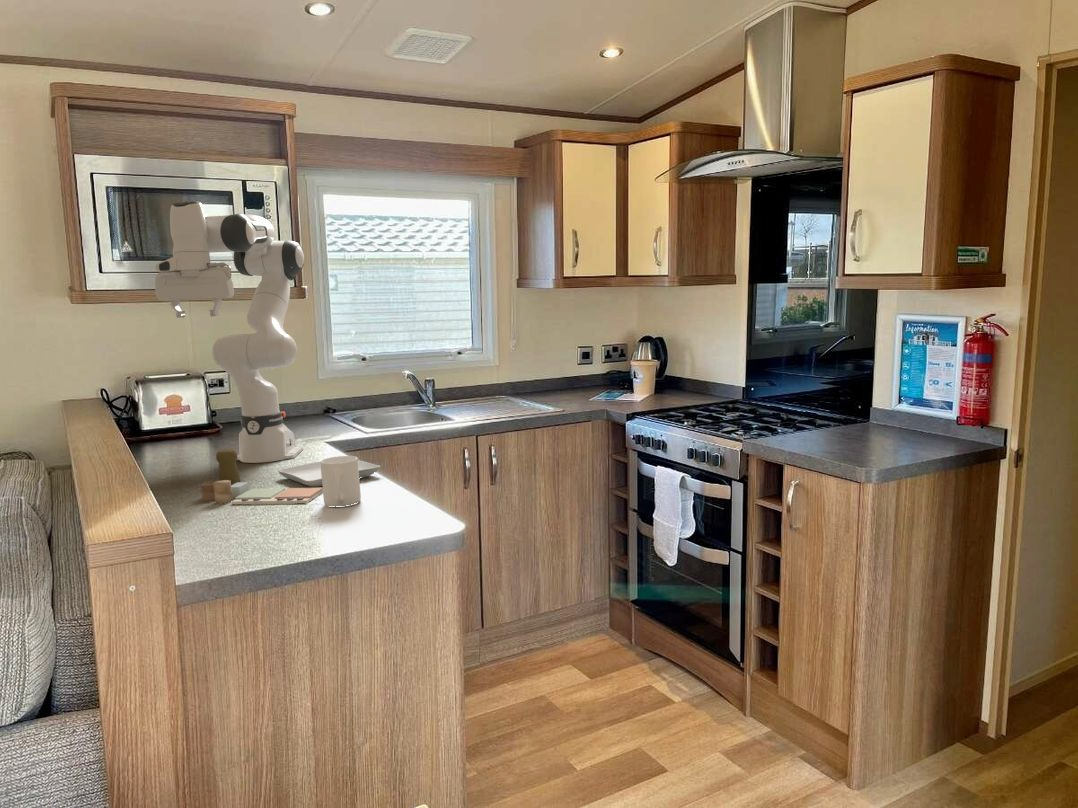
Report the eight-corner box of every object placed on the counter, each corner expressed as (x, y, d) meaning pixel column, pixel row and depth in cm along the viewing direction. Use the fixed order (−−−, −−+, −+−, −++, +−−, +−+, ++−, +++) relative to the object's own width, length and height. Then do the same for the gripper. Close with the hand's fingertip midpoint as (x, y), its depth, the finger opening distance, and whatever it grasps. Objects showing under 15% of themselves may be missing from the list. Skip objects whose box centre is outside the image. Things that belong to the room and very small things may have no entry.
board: (252, 493, 205) (251, 488, 205) (323, 491, 203) (323, 487, 203) (231, 504, 194) (231, 500, 194) (306, 503, 192) (306, 498, 192)
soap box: (238, 493, 206) (237, 482, 205) (249, 493, 206) (248, 482, 205) (229, 498, 201) (227, 487, 201) (240, 498, 201) (239, 487, 200)
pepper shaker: (234, 486, 213) (230, 446, 211) (247, 489, 209) (243, 448, 208) (213, 491, 208) (209, 450, 207) (225, 494, 205) (221, 452, 203)
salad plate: (276, 480, 220) (275, 468, 219) (347, 467, 233) (346, 455, 233) (309, 493, 204) (308, 480, 203) (383, 478, 217) (382, 465, 216)
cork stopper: (220, 499, 200) (218, 480, 199) (235, 499, 199) (233, 480, 199) (212, 504, 196) (210, 484, 195) (227, 504, 195) (225, 484, 195)
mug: (319, 513, 183) (315, 467, 181) (326, 500, 194) (322, 457, 193) (358, 510, 184) (354, 465, 182) (362, 497, 195) (359, 454, 194)
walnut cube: (206, 497, 204) (205, 481, 203) (223, 495, 204) (221, 480, 204) (202, 500, 200) (201, 485, 199) (219, 499, 200) (217, 484, 200)
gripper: (235, 262, 211) (240, 315, 213) (163, 266, 213) (168, 318, 215) (224, 261, 205) (229, 315, 207) (149, 265, 207) (155, 318, 209)
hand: (197, 317), depth 211 cm, fingers open, 8 cm apart
